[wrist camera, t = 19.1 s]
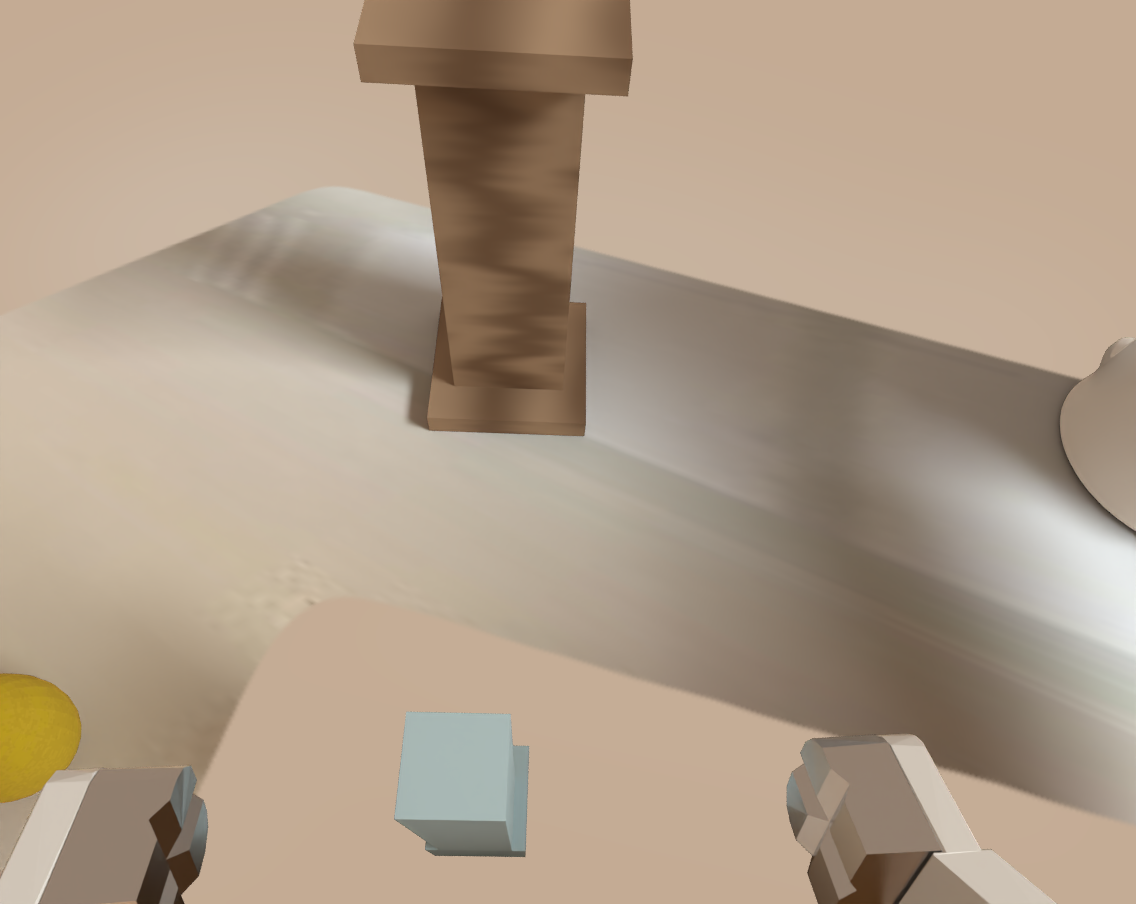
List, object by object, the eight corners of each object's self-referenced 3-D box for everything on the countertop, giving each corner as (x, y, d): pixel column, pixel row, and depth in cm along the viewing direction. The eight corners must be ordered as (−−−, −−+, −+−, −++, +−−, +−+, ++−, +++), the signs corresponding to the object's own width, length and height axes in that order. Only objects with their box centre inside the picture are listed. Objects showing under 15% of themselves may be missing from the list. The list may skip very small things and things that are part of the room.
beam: (525, 856, 38) (529, 748, 41) (526, 821, 22) (532, 650, 25) (435, 855, 38) (444, 747, 40) (373, 818, 22) (394, 647, 25)
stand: (584, 317, 55) (625, -83, 33) (584, 435, 50) (632, 58, 28) (444, 311, 55) (389, -98, 33) (429, 430, 50) (353, 43, 28)
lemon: (-15, 725, 40) (-127, 686, 33) (99, 679, 41) (15, 633, 34) (-3, 833, 37) (-122, 816, 30) (118, 780, 39) (30, 753, 32)
